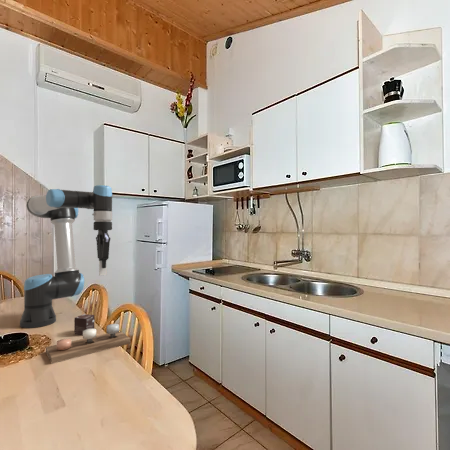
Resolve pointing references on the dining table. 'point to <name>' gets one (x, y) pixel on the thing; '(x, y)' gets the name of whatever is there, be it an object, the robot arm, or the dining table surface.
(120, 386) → the dining table surface
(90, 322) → the box
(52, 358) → the panel
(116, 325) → the grey knob
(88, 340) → the key ivory
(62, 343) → the pink rounded piece
